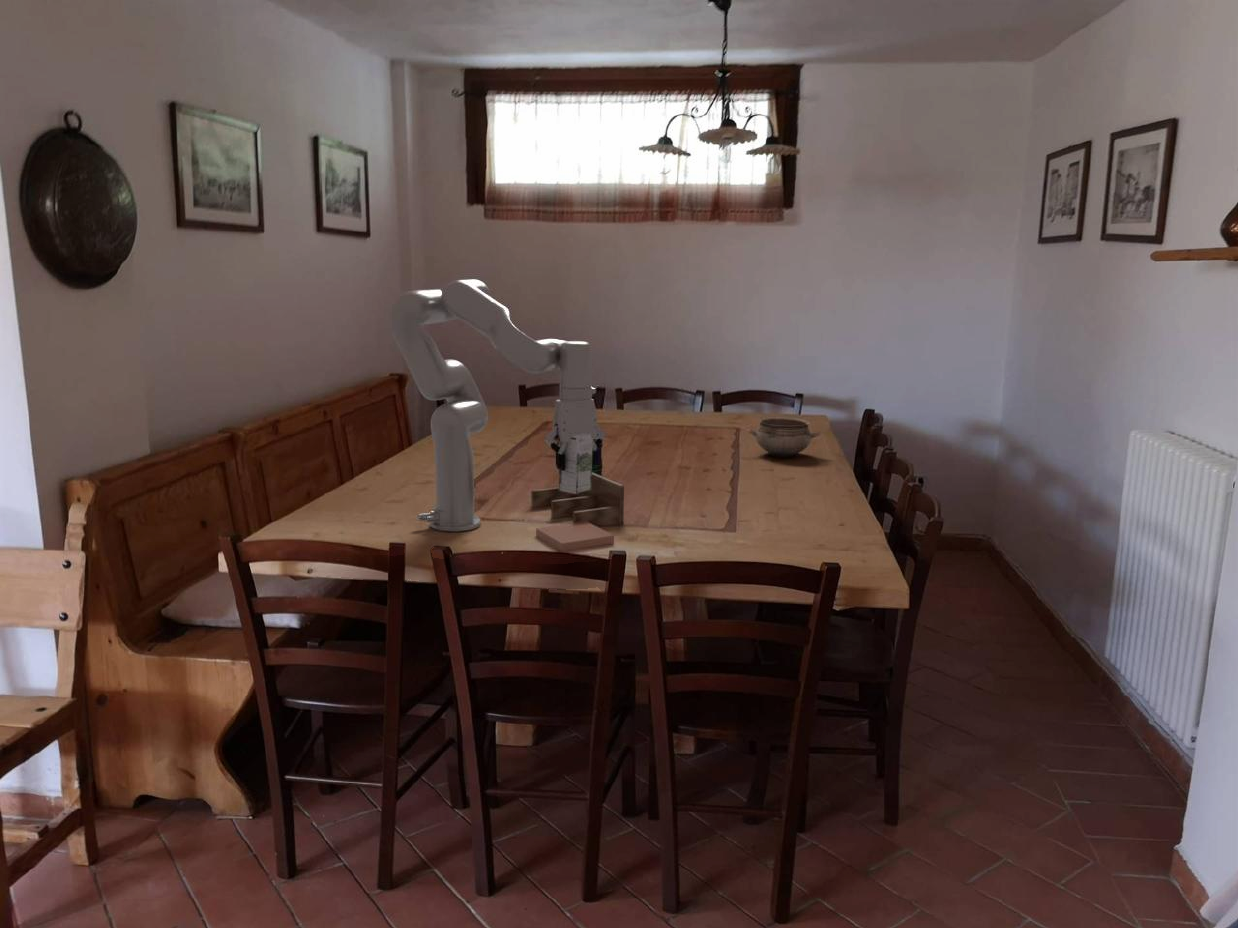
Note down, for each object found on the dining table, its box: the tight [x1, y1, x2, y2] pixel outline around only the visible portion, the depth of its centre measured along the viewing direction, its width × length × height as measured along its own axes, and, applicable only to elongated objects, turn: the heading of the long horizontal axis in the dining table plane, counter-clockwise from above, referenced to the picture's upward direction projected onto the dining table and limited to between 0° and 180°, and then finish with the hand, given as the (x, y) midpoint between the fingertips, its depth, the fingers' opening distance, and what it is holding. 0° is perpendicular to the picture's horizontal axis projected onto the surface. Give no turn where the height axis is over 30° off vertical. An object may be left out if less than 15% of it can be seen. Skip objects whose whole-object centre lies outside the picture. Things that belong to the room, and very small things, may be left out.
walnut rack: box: [530, 472, 625, 528], centre depth 250 cm, size 14×26×10 cm, turn 31°
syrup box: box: [558, 434, 593, 494], centre depth 225 cm, size 6×6×14 cm
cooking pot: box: [747, 416, 821, 459], centre depth 329 cm, size 25×19×12 cm
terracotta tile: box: [535, 521, 615, 552], centre depth 229 cm, size 14×14×2 cm
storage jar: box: [592, 427, 604, 476], centre depth 293 cm, size 10×10×15 cm
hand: (575, 467), depth 225 cm, fingers closed on syrup box, 7 cm apart
